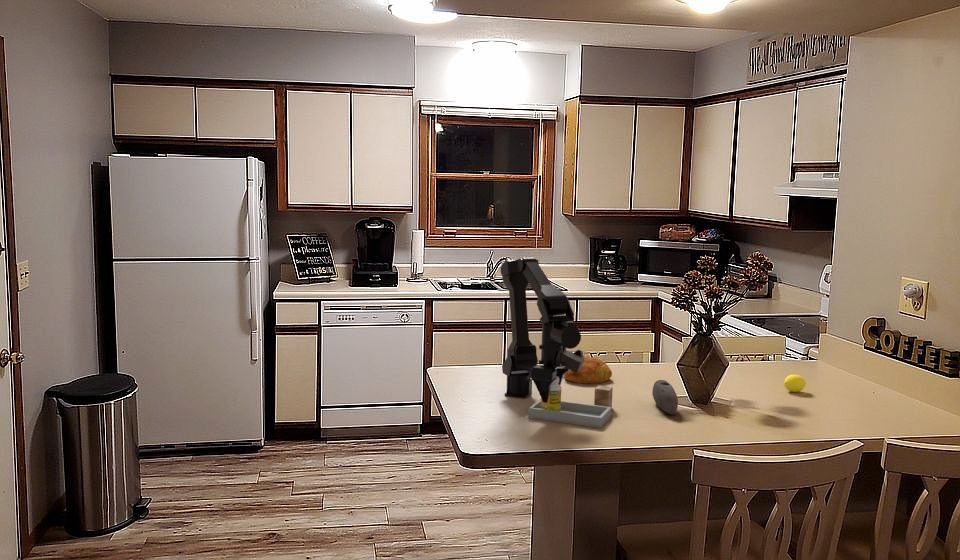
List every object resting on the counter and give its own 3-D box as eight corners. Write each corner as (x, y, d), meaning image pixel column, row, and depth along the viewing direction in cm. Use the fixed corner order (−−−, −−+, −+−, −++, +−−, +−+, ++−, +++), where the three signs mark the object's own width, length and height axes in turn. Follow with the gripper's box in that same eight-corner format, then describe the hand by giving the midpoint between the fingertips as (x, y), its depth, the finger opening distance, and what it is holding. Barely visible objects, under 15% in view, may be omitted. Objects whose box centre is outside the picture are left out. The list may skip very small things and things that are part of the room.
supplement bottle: (551, 408, 218) (553, 373, 217) (564, 413, 214) (566, 378, 213) (536, 410, 215) (537, 375, 214) (548, 415, 211) (550, 380, 210)
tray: (528, 417, 212) (528, 408, 211) (541, 407, 221) (541, 398, 221) (600, 427, 204) (601, 418, 204) (611, 416, 214) (611, 407, 213)
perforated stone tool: (682, 418, 214) (683, 393, 213) (662, 418, 214) (664, 392, 213) (668, 402, 229) (670, 378, 228) (650, 402, 229) (651, 378, 228)
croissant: (575, 377, 264) (573, 353, 264) (618, 378, 255) (616, 353, 254) (552, 385, 252) (550, 359, 252) (596, 386, 243) (594, 360, 243)
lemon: (788, 394, 239) (789, 377, 239) (779, 389, 245) (780, 372, 244) (809, 394, 240) (811, 376, 240) (800, 389, 246) (801, 372, 245)
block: (593, 410, 220) (594, 388, 219) (597, 406, 224) (598, 385, 223) (608, 411, 218) (609, 390, 218) (611, 408, 222) (612, 387, 221)
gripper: (571, 350, 201) (569, 411, 203) (591, 337, 218) (589, 393, 220) (529, 346, 205) (528, 405, 207) (552, 333, 222) (550, 388, 224)
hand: (550, 398), depth 214 cm, fingers open, 9 cm apart
